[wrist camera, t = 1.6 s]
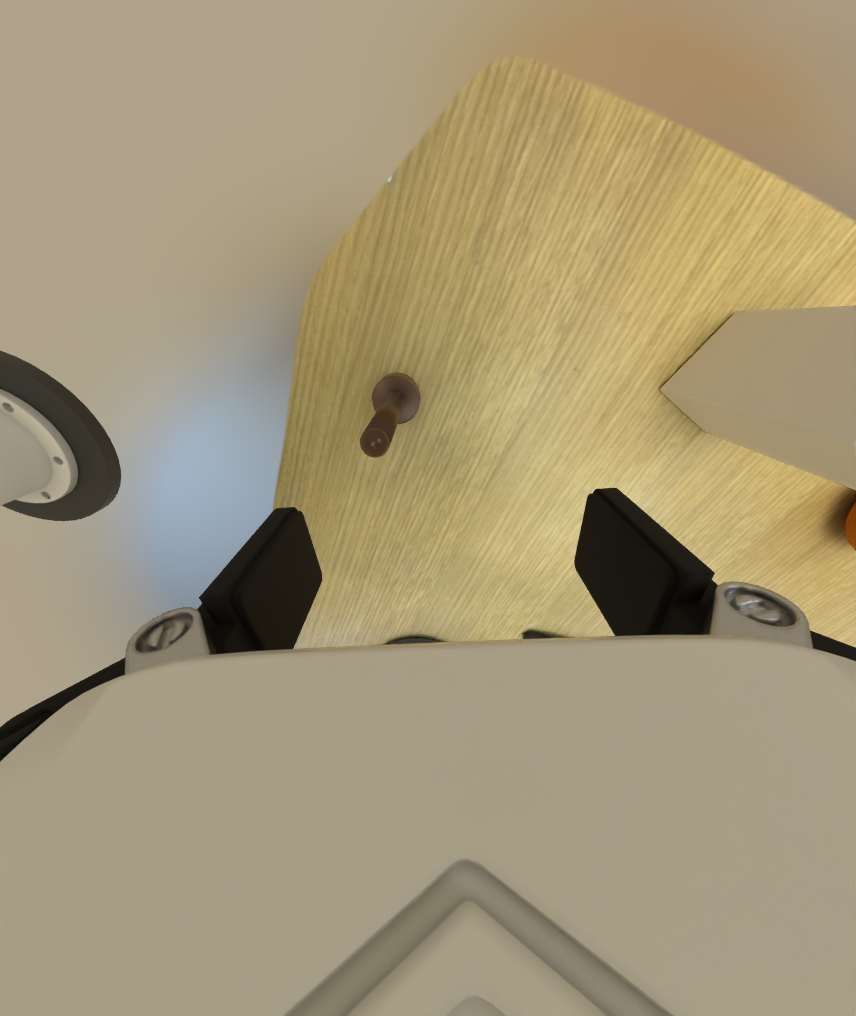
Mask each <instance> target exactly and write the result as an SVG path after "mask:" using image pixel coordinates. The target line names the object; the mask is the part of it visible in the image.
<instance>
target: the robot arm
mask: <svg viewBox="0 0 856 1016" xmlns="http://www.w3.org/2000/svg"><path fill="white" fill-rule="evenodd" d="M77 479H78V466H77V463H76V460H75V456H74V454H73V452H72V450H71V448H70V446H69V445H68V443H67V442H66V440H65V439H64V437H63V436H62V435H61V433H60V432H59V431H58V430H57V429H56V428H55V427H54V425H53V424H52V423H51V422H50V421H49V420H47V419H46V418H45V417H44V416H43V415H42V414H41V413H40V412H38V411H37V410H36V409H34V408H33V407H32V406H30V405H29V404H27V403H26V402H24V401H23V400H21V399H19V398H18V397H16V396H14V395H12V394H11V393H9V392H6V391H4V390H2V389H0V506H1V505H3V504H6V503H8V502H11V501H13V500H19V501H23V502H29V503H48V502H52V501H55V500H57V499H60V498H62V497H64V496H66V495H67V494H69V493H70V492H71V491H72V490H73V489H74V487H75V486H76V484H77ZM574 562H575V568H576V571H577V572H578V574H579V576H580V577H581V579H582V581H583V582H584V584H585V586H586V587H587V589H588V591H589V593H590V594H591V596H592V598H593V599H594V601H595V603H596V604H597V606H598V608H599V609H600V611H601V613H602V614H603V616H604V618H605V619H606V621H607V623H608V624H609V626H610V628H611V629H612V631H613V633H614V634H615V636H601V637H572V638H543V639H514V640H489V641H463V642H439V643H414V644H390V645H369V646H347V647H325V648H303V649H293V648H294V646H295V643H296V641H297V639H298V636H299V634H300V632H301V629H302V627H303V625H304V622H305V620H306V618H307V615H308V613H309V611H310V608H311V606H312V604H313V601H314V599H315V597H316V594H317V592H318V590H319V587H320V585H321V582H322V572H321V569H320V566H319V562H318V559H317V556H316V553H315V550H314V547H313V544H312V540H311V537H310V534H309V531H308V528H307V525H306V522H305V518H304V515H303V513H302V512H301V511H297V509H296V508H294V507H289V508H276V509H275V510H274V511H273V512H272V513H271V514H270V515H269V517H268V518H267V519H266V520H265V521H264V522H263V524H262V525H261V526H260V527H259V529H258V530H257V531H256V532H255V533H254V534H253V535H252V536H251V538H250V539H249V540H248V541H247V542H246V543H245V545H244V546H243V547H242V548H241V549H240V550H239V552H238V553H237V554H236V555H235V556H234V558H233V559H232V560H231V561H230V562H229V563H228V565H227V566H226V567H225V568H224V569H223V571H222V572H221V573H220V574H219V575H218V576H217V578H216V579H215V580H214V581H213V582H212V583H211V584H210V586H209V587H208V588H207V589H206V590H205V591H204V593H203V594H202V595H201V596H200V597H199V599H200V600H201V602H202V604H201V606H200V607H199V608H198V609H194V608H192V607H190V608H189V607H183V608H178V609H174V610H171V611H168V612H166V613H163V614H161V615H160V616H157V617H155V618H153V619H152V620H150V621H149V622H148V623H146V624H145V625H143V626H142V627H141V628H140V629H139V630H138V631H137V632H136V633H135V634H134V635H133V636H132V637H131V639H130V640H129V642H128V644H127V647H126V656H125V658H124V659H122V660H120V661H118V662H116V663H114V664H112V665H110V666H109V667H107V668H105V669H103V670H101V671H99V672H97V673H96V674H93V675H92V676H90V677H88V678H86V679H84V680H82V681H80V682H78V683H76V684H74V685H73V686H71V687H69V688H67V689H65V690H63V691H61V692H59V693H58V694H56V695H54V696H52V697H50V698H48V699H46V700H44V701H42V702H41V703H39V704H37V705H35V706H33V707H31V708H29V709H28V710H26V711H25V712H22V713H20V714H19V715H17V716H15V717H13V718H12V719H10V720H9V721H8V722H6V723H5V724H4V725H3V726H2V727H0V1016H856V648H855V647H852V646H850V645H847V644H844V643H842V642H839V641H836V640H834V639H831V638H829V637H826V636H823V635H821V634H818V633H815V632H813V631H810V629H809V623H808V620H807V618H806V616H805V614H804V613H803V612H802V611H801V610H800V609H799V608H798V607H797V606H796V605H795V604H793V603H792V602H791V601H789V600H788V599H786V598H785V597H783V596H781V595H779V594H777V593H775V592H773V591H771V590H768V589H765V588H763V587H760V586H757V585H753V584H749V583H743V582H725V583H722V584H720V585H717V584H716V583H715V582H714V581H713V580H712V578H713V576H714V574H715V573H714V572H713V571H712V570H711V569H710V568H709V567H707V566H706V565H705V564H704V563H703V562H702V561H700V560H699V559H698V558H697V557H696V556H695V555H694V554H692V553H691V552H690V551H689V550H688V549H687V548H685V547H684V546H683V545H682V544H681V543H680V542H679V541H677V540H676V539H675V538H674V537H673V536H672V535H670V534H669V533H668V532H667V531H666V530H665V529H664V528H662V527H661V526H660V525H659V524H658V523H657V522H655V521H654V520H653V519H652V518H651V517H650V516H649V515H647V514H646V513H645V512H644V511H643V510H642V509H640V508H639V507H638V506H637V505H636V504H635V503H634V502H632V501H631V500H630V499H629V498H628V497H627V496H625V495H624V494H623V493H622V492H621V491H620V490H618V489H617V488H604V489H596V490H594V492H593V494H589V495H588V497H587V501H586V506H585V511H584V516H583V521H582V526H581V531H580V536H579V540H578V545H577V550H576V555H575V561H574Z"/></svg>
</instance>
